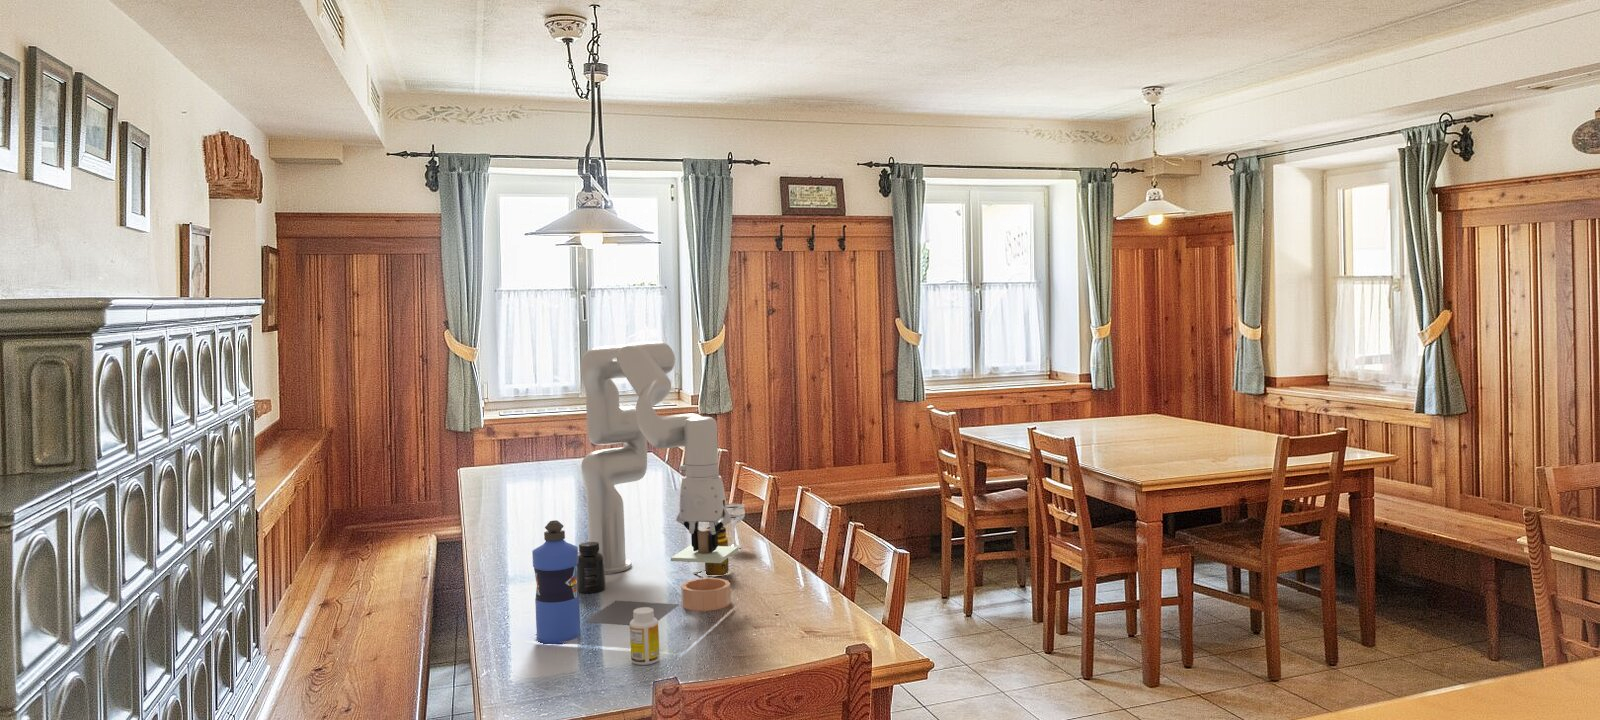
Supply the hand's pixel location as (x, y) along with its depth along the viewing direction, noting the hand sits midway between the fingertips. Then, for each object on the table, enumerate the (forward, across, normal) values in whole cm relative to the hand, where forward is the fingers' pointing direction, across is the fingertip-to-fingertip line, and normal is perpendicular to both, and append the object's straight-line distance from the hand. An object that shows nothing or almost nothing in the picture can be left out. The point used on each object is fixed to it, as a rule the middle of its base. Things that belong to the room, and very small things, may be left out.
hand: (705, 549), depth 235 cm
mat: (+13, -14, -10) cm, 22 cm away
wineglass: (+13, -12, +53) cm, 56 cm away
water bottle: (+13, -23, -27) cm, 38 cm away
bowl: (+13, 0, 0) cm, 13 cm away
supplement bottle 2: (+14, +1, -36) cm, 38 cm away
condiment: (+13, -8, +26) cm, 31 cm away
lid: (+1, 0, 0) cm, 1 cm away
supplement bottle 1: (+13, -32, +5) cm, 35 cm away
